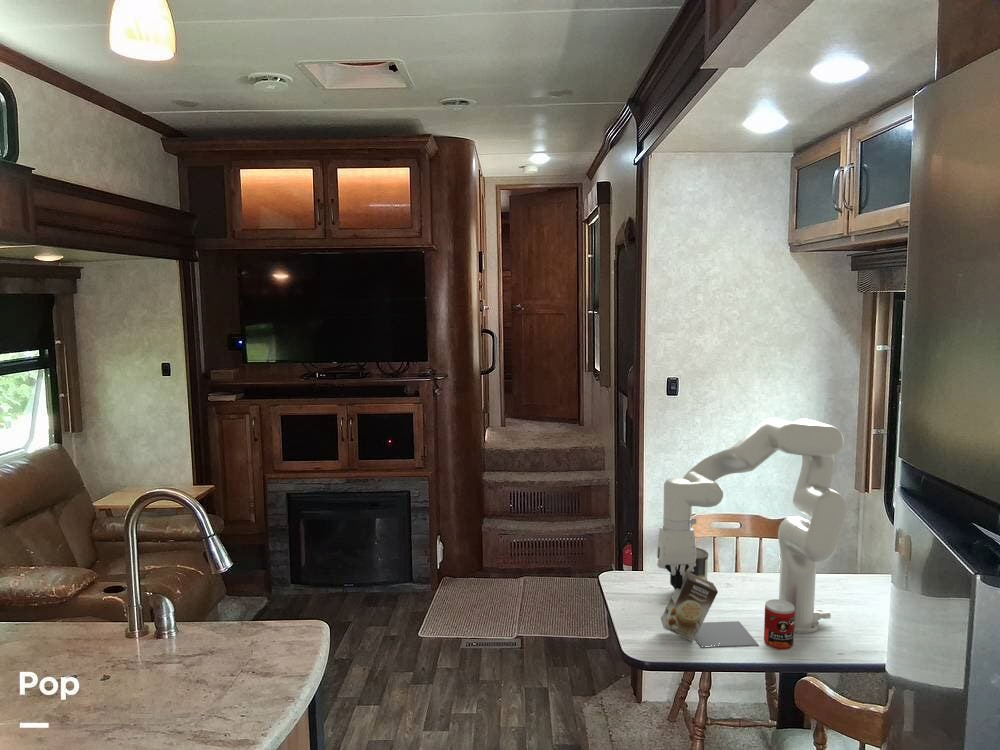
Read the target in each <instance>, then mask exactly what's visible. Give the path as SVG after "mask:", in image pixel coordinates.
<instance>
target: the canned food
mask: <svg viewBox="0 0 1000 750" xmlns="http://www.w3.org/2000/svg"><path fill="white" fill-rule="evenodd" d="M794 621H795V607H794V605H793V604H791V603H790V602H787V601H784V600H779V598H778V599H776V598H775V599H768V600H767V601H765V605H764V621H763V622H764V623H763V640H764V642H765V644H766V646H768V647H770V648H772V649H775V650H779V651H782V650H783V651H785V650H789V649H791V648H793V645H794V641H795V640H794V639H795V638H794V637H795V632H794Z"/></svg>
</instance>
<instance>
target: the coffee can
mask: <svg viewBox="0 0 1000 750" xmlns="http://www.w3.org/2000/svg"><path fill="white" fill-rule="evenodd" d="M709 556H710V555H709V552H708V551H707V550H706V549H703V548H700V547H696V561H695V562H696V566H695V567H691V568H688V569H687V570H686V571H687V572H689V573H692V574H694V575H696V576H698V577H700V578H703V579H705V580H707V581H708V567H709V565H708V562H709ZM677 567H678V565H675V571H677ZM674 591H675V589H674V590H673V592H674Z"/></svg>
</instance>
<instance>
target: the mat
mask: <svg viewBox="0 0 1000 750" xmlns="http://www.w3.org/2000/svg"><path fill="white" fill-rule="evenodd" d="M694 640H697V641H698V642H697V641H696V642H697V643H699V644H700V645H699V644H698V645H699V647H700V646H701V647H702V646H703V647H705V646H711V645H712V646H714V645H715V646H718V645H719V646H734V647H755V646H756V647H757V646H758V645H759V643H758V642H757V641H756V640H755V638H754V637H753V635H751V634H750V632H749V631H748V630H747V628H745V626H744V625H743V624H742V623H741V621H738V620H736V621H735V620H734V621H710V622H709V621H708V622H707V621H706V622H705V621H703V623H702V625H701V627H700V629H699V631H698V633H697V635H696V637H695V639H694ZM719 643H720V644H719ZM701 647H700V648H701ZM705 648H706V647H705Z"/></svg>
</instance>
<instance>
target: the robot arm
mask: <svg viewBox="0 0 1000 750" xmlns="http://www.w3.org/2000/svg"><path fill="white" fill-rule="evenodd" d="M844 440H845V439H844V436H843V433H842V432H841V430H839V428H837V427H836V426H833V425H830V424H828V423H823V422H820V421H817V420H813V419H809V418H800V419H797V420H795V421H789V420H786V419H782V418H780V417H769V418H766V419H764V420H763V421H762V422H761V423H759V424H758V425H756V427H754V428H752V430H751V431H750V432H748V433H747V434H746V435H745V436H743V437H742V438H741V439H740V440H738V441H737V442H736V443H735V444H733V445H732V446H731V447H729V448H726V449H723V450H721V451H719V452H717V453H714V454H711V455H709V456H707V457H705V458H703V459H702V460H701V461H699V462H698V463H696V464H695V465H694V466H693V467H692V468H690V469H689V470H688V471H687V472H686V473H685V474H684V476H683V477H681V478H680V477H671V478H667V479H666V480H665V481H664V484H663V516H662V517H663V518H662V519H663V520H662V521H663V522H662V523H663V525H661V526H660V527H659V531H658V535H657V536H658V537H657V546H656V557H657V564H656V565H657V567H658V569H659V568H660V569H665V570H667V572H669V573H670V574H669V575H670V576H669V577H670V578H669V582H670V585H671V586H672V587H673V588H674V589H677V588H678V589H681V585H682V576H683V575H684V572H685V571H686V570H687V569H688V568H691V567H695V566H696V562H695V561H696V548H697V544H696V536H695V531H694V530H695V529H694V527H693V525H695V524H697V519H696V518H693V517H692V509H693V508H692V507H698V508H699V507H700V508H713V507H716V506H718V505H719V504H720V503H722V501H723V498H724V490H723V488H722V486H721V485H720V484H719V483H718V482H716V481H717V480H719V479H720V478H723V477H725V476H728V475H732V474H741V473H748V472H750V473H751V472H753V471H754V470H756V469H757V468H759V466H761V465H762V464H763V463H764V462H765V461H767V460H768V459H769V458H770V457H771V456H772V455H774V454H776V453H777V451H779V452H782V453H784V454H789V455H796V456H801V460H802V462H801V467H800V473H799V475H798V479H797V483H796V487H795V490H794V493H793V498H792V504H793V506H794V508H795V509H796V510H797V511H798V512H800V513H801V514H804V515H806V516H808V517H809V518H810V520H809V519H807V518H805V517H802V516H798V515H795V516H794V515H793V516H788V517H786V518H784V519H783V520H782V521H781V523H780V524H779V526H778V531H777V533H778V534H777V536H778V545H779V552H780V553H779V555H780V557H779V558H780V565H779V584H778V585H779V591H778V593H779V594H778V600H784V601H787V602H790V603H791V604H793V605H794V607H795V621H794V633H799V634H810V633H815V632H816V631H818V630H819V629H820V622H819V621H820V620H821V619H826V620H827V619H831V615H832V614H831V612H830V611H823V610H822V609H821V608H816V609H815V596H816V578H817V577H816V575H817V564H816V563H825V562H827V561H828V560H830V559H831V558H832V556H834V553H835V552H836V549H837V547H838V544H839V541H840V537H841V534H842V531H843V527H844V523H845V520H846V517H847V505H846V504H847V503H846V501H845V499H844V497H843V496H842V494H840V493H839V492H837V491H836V490H834V489H831V487H832V486H831V485H832V482H833V477H834V472H835V458H834V455H836V454H838V453H839V452H840V451H841V450H842V449H843V447H844V443H845V441H844ZM675 565H678V567H677V571H675Z"/></svg>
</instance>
